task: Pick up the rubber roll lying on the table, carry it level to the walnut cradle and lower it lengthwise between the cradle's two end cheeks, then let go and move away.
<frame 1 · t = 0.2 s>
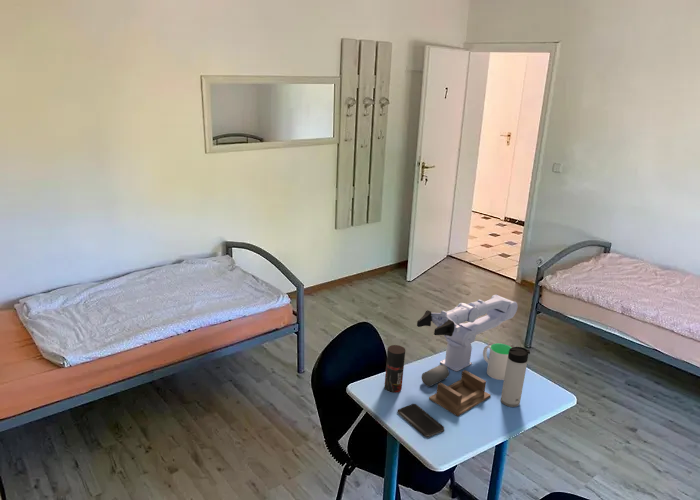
hand: (426, 328, 188), 21 cm above the table, tool horizontal, fingers open, 7 cm apart
roll: (434, 381, 196), on the table
travel mug: (510, 402, 187), on the table
phone: (420, 422, 174), on the table
deodorant: (392, 388, 191), on the table
cradle: (460, 397, 187), on the table
mug: (493, 371, 205), on the table
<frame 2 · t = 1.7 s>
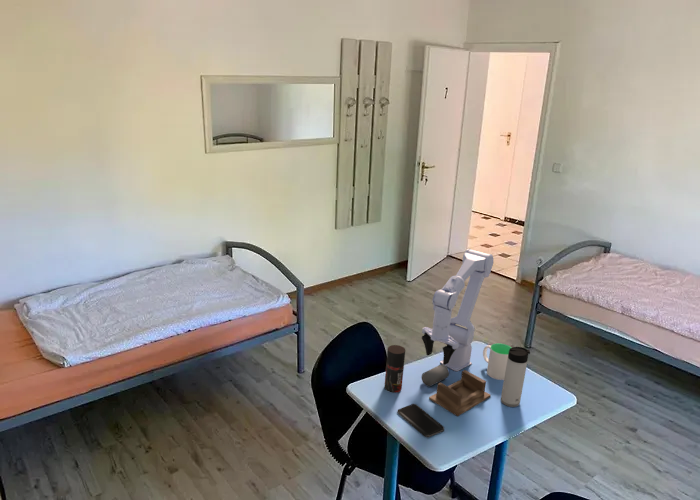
hand: (437, 358, 193), 9 cm above the table, tool pointing down, fingers open, 7 cm apart
nothing on the table moved.
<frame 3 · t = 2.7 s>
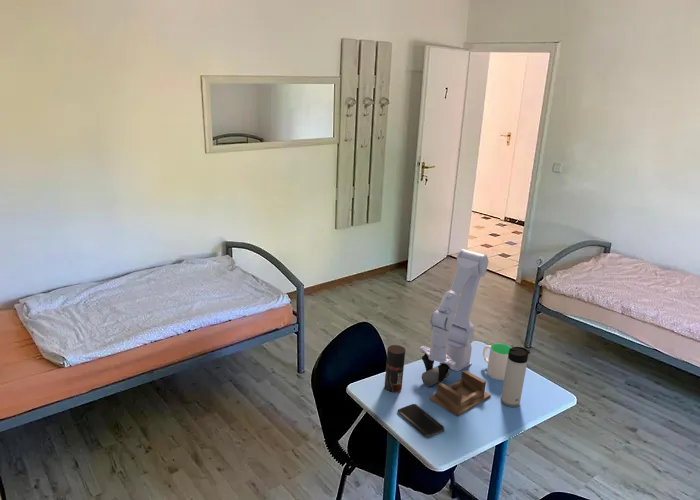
hand: (435, 377, 196), 1 cm above the table, tool pointing down, fingers closed on roll, 5 cm apart
roll: (434, 381, 196), on the table, touching gripper
everything else where it was.
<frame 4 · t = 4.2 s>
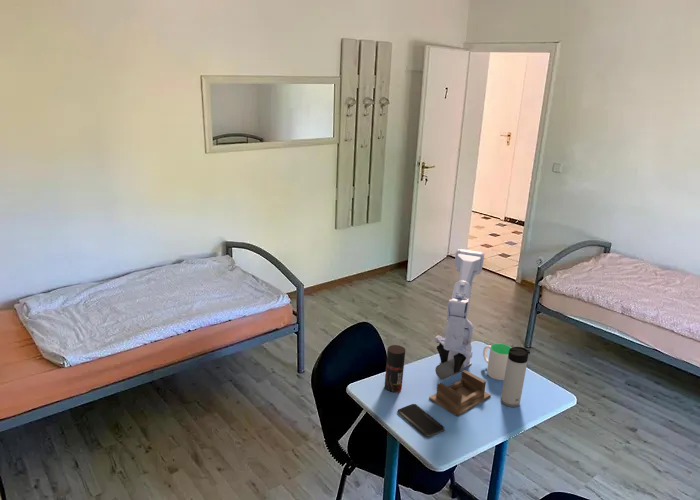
hand: (450, 368, 188), 9 cm above the table, tool pointing down, fingers closed on roll, 5 cm apart
roll: (448, 374, 189), point 6 cm above the table, touching gripper
everything else where it was.
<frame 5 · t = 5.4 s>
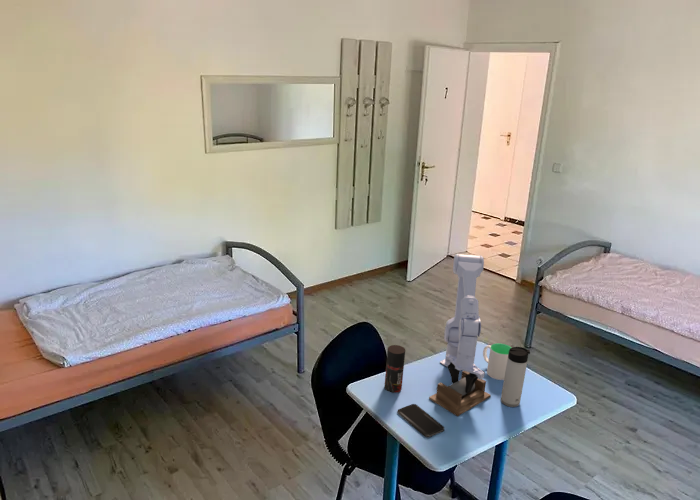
hand: (461, 387, 186), 4 cm above the table, tool pointing down, fingers closed on roll, 5 cm apart
roll: (459, 394, 187), point 1 cm above the table, touching gripper
everything else where it was.
when the fingers open (4 cm above the table, at t = 5.8 s): roll stays where it is, resting on cradle.
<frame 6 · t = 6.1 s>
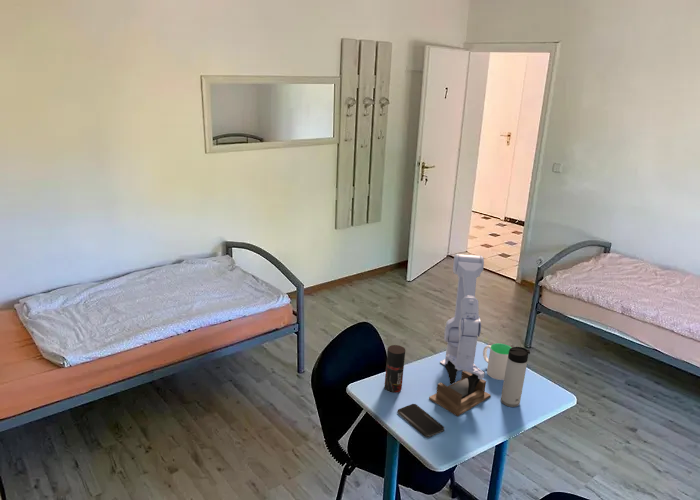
hand: (461, 387, 186), 4 cm above the table, tool pointing down, fingers open, 7 cm apart
roll: (459, 395, 187), point 1 cm above the table, touching cradle
everything else where it was.
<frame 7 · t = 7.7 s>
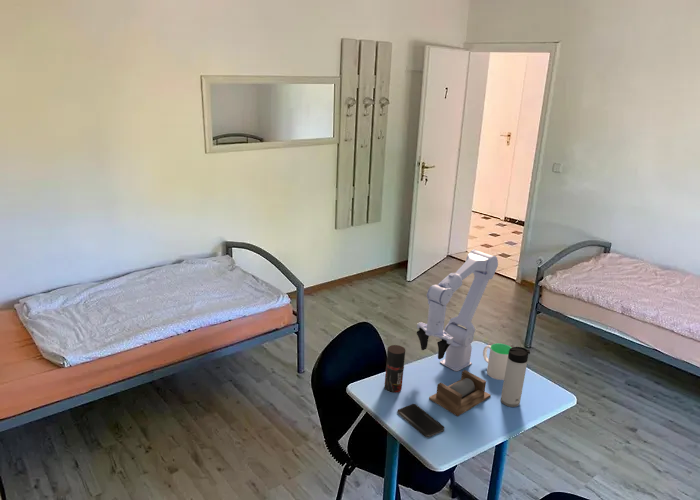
hand: (432, 353, 195), 10 cm above the table, tool pointing down, fingers open, 7 cm apart
nothing on the table moved.
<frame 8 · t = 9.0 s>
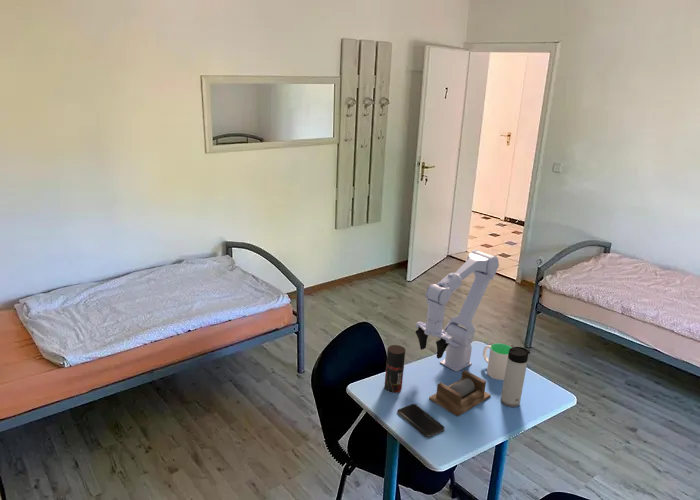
hand: (431, 353, 195), 10 cm above the table, tool pointing down, fingers open, 7 cm apart
nothing on the table moved.
at the end: roll 0.4 cm off-centre on the cradle, point 0.8 cm above the cradle's base; the gripper is holding nothing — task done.
